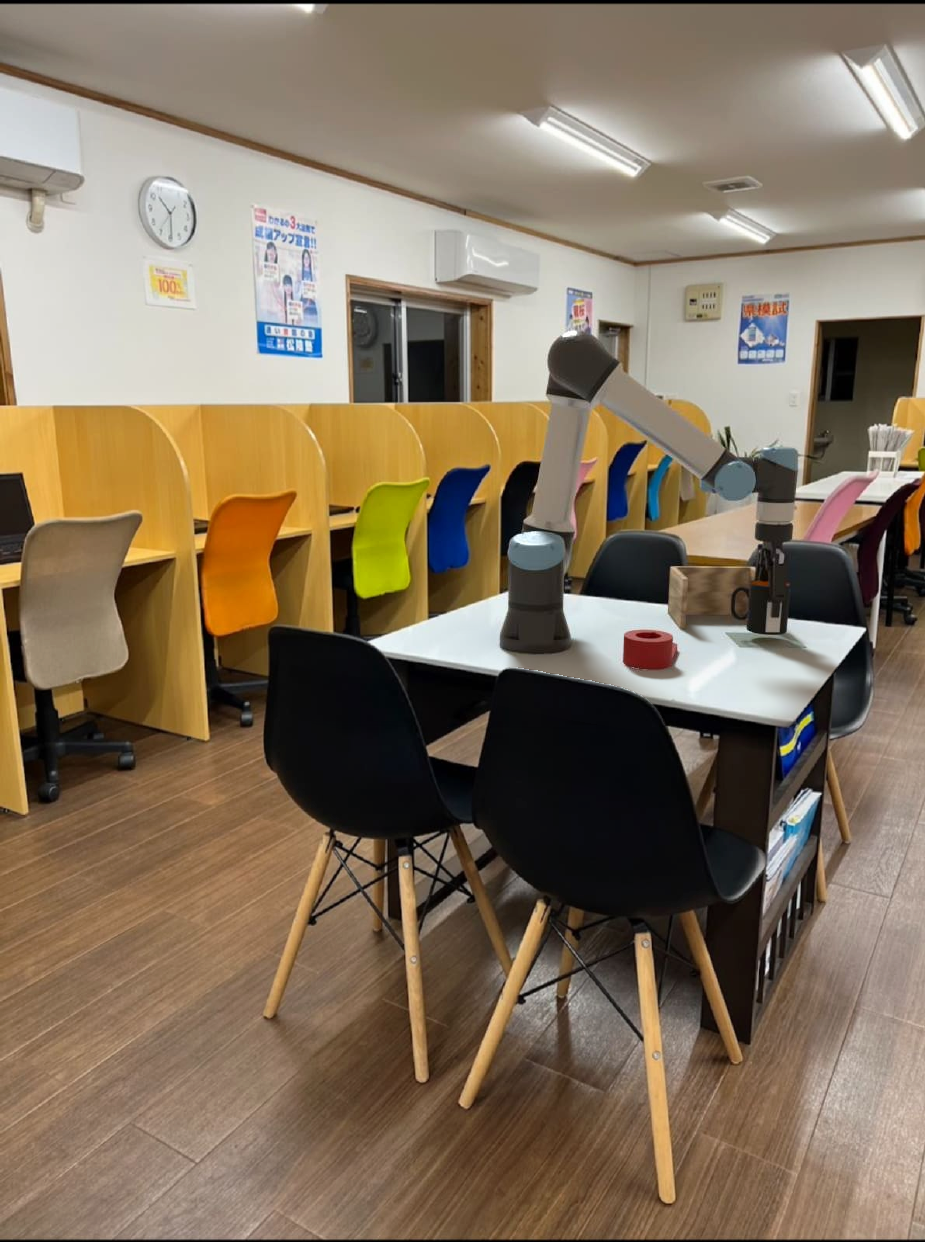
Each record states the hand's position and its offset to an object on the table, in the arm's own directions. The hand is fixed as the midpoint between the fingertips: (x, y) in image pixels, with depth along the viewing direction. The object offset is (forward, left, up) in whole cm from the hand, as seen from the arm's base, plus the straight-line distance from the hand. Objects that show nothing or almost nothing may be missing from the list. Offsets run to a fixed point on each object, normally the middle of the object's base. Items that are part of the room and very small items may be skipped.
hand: (766, 626), depth 192 cm
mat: (0, 0, -4) cm, 4 cm away
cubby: (-7, +18, -4) cm, 19 cm away
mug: (-2, +1, -1) cm, 2 cm away
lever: (-26, -16, -4) cm, 31 cm away
